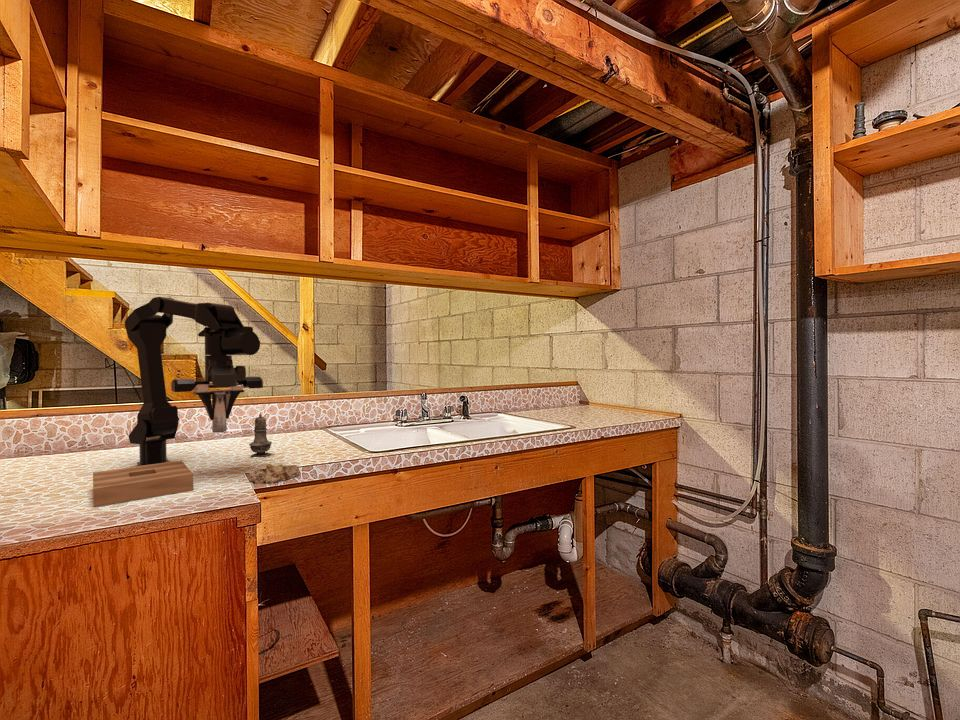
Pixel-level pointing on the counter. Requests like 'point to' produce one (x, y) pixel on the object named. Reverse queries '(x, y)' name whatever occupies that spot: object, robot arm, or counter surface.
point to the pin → (219, 411)
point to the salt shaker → (260, 439)
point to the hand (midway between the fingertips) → (219, 419)
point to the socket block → (140, 482)
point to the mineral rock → (274, 474)
